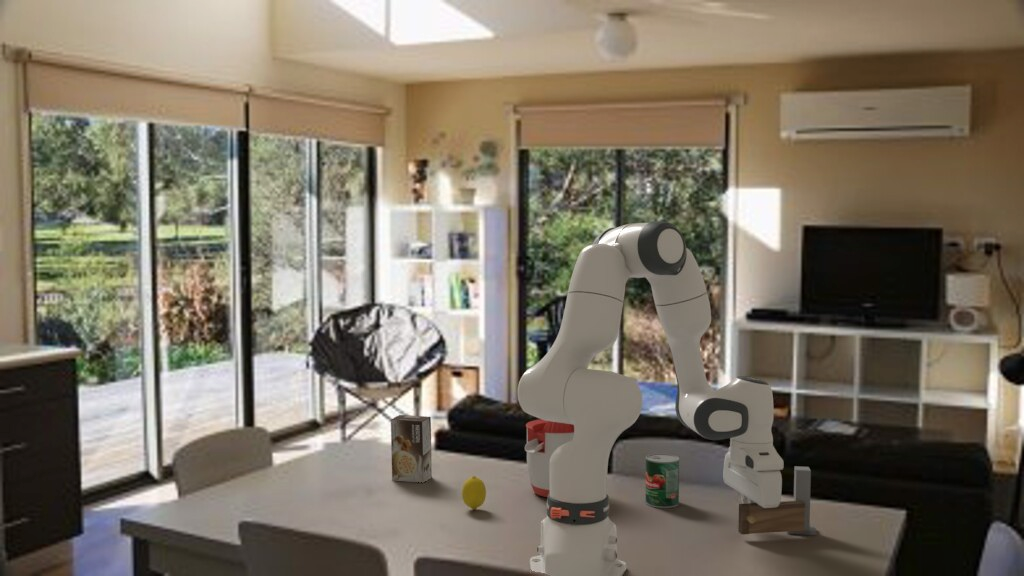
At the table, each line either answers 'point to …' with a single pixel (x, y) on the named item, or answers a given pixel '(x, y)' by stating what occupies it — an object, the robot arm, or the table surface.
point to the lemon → (473, 492)
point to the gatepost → (803, 497)
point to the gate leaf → (771, 518)
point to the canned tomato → (662, 480)
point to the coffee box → (411, 448)
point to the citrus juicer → (544, 450)
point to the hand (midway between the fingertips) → (749, 516)
